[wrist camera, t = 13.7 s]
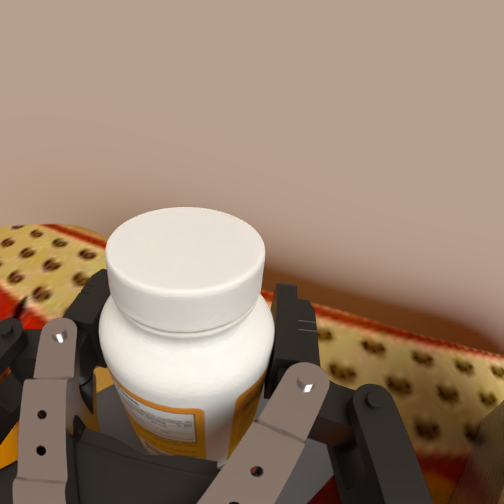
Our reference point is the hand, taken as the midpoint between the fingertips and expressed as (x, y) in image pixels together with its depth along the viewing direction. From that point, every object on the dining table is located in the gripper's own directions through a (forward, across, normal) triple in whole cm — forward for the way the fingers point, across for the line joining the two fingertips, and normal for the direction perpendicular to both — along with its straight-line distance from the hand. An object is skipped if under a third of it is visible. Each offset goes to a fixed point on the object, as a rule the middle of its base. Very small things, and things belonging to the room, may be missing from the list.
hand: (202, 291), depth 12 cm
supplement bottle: (-3, 0, -6) cm, 7 cm away
